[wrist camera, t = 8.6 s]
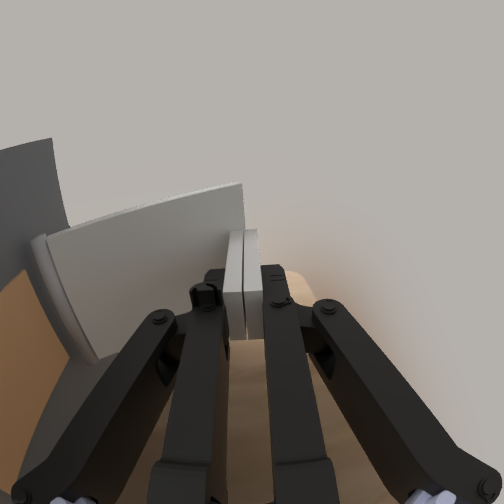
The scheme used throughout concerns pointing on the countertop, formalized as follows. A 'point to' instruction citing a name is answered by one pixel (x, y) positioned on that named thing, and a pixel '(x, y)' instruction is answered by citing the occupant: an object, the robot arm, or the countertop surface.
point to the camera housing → (33, 320)
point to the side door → (136, 264)
